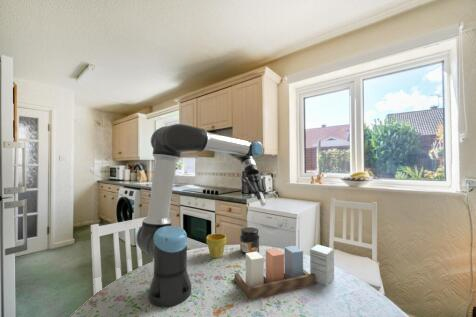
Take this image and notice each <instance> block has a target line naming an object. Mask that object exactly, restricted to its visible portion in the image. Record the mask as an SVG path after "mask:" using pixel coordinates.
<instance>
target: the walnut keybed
mask: <svg viewBox="0 0 476 317" xmlns="http://www.w3.org/2000/svg"><path fill="white" fill-rule="evenodd" d="M234 280H235V281H236V283H237V286H238V287H239V288H240V290H241V291H242V294H244V296H245V298H246V299H247V300H250V301H251V300H253V299H258V298H262V297H267V296H271V295H274V294H275V295H276V294H278V293H279V294H280V293H283V292H288V291H292V290H296V289H300V288H305V287H310V286H313V285H316V281H315V274H314V273H312V274H310V273H309V272H308V271H306V269H305V268H303V276H298V277H293V278H289V277H288V276H287V275H286V274H285V272H284V280H279V281H274V282H269V281H268V280H267V279H266V276H264V284H260V285H256V286H251V287H248V286H247V285H246V281H245V280H244V279H243V278H242V276H241V275H240V273H239V272H235V273H234Z"/></svg>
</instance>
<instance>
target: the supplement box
mask: <svg viewBox="0 0 476 317" xmlns="http://www.w3.org/2000/svg"><path fill="white" fill-rule="evenodd" d="M309 258H310V259H309V262H310V263H309V267H310V268H309V272H310V273H309V274H312V273H314V274H315V282H318V283H319V284H323V285H325V286H328V285H330V283H332V282H333V280H335V249H334V248H332V247H329V246H328V247H327V246H324V245H321V244H316V245H315V246H312V248H310V250H309Z"/></svg>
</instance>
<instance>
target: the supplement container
mask: <svg viewBox="0 0 476 317" xmlns="http://www.w3.org/2000/svg"><path fill="white" fill-rule="evenodd" d="M239 251H240V253H241V254H242V255H244V256H246V253H250V252H258V253H259V252H260V235H259V228H256V227H253V226H252V227H250V226H249V227H243V228H241V229H240V236H239ZM259 254H260V253H259Z"/></svg>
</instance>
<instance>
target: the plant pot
mask: <svg viewBox="0 0 476 317" xmlns="http://www.w3.org/2000/svg"><path fill="white" fill-rule="evenodd" d="M205 241H206V246H207V247H208V248H207V249H208V251H209V256H210V257H211V258H214V259H219V258H222V257H224V256H223V255H224V250H225V246H226V244H227V235H226V234H223V233H211V234H208V235H207V236H206V240H205Z"/></svg>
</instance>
